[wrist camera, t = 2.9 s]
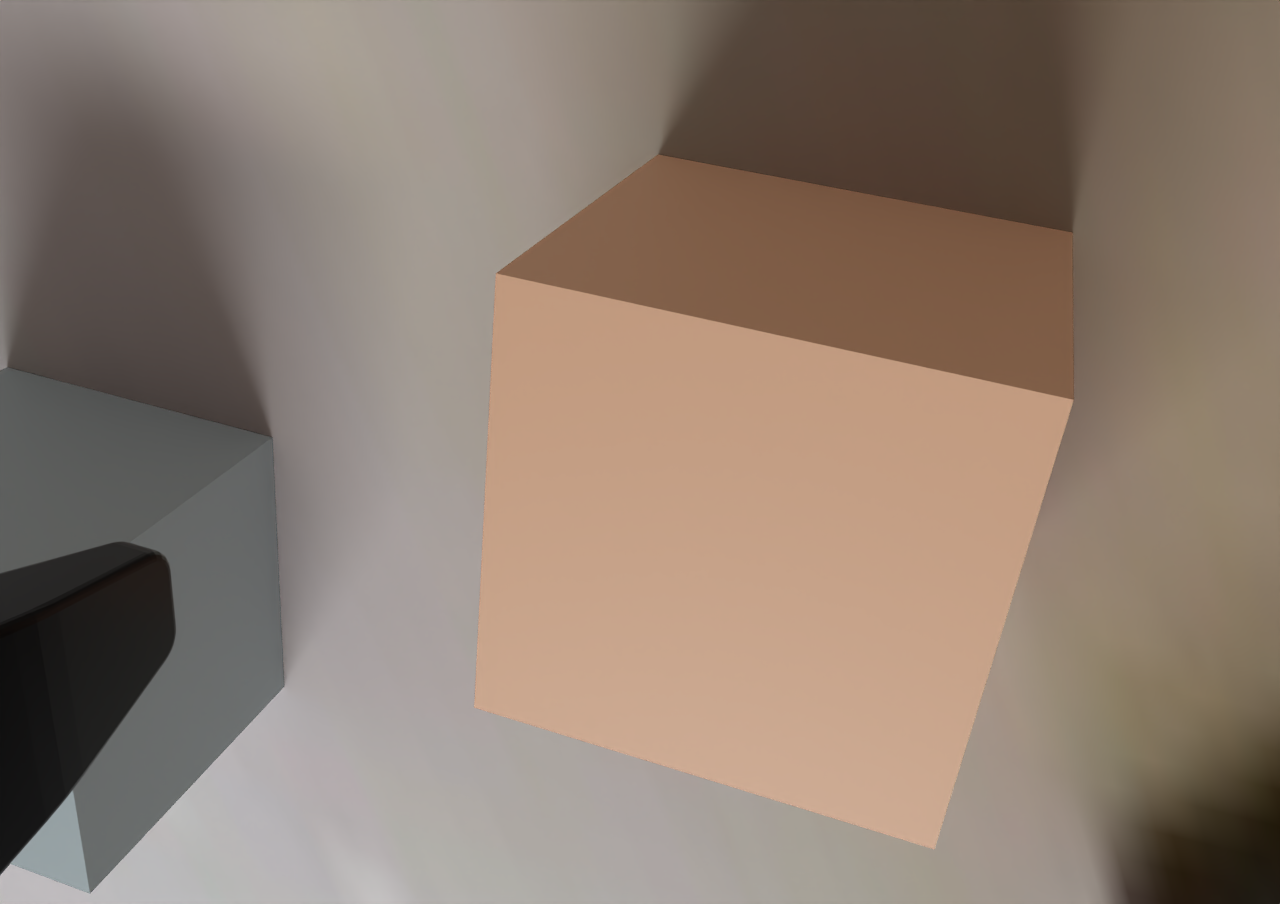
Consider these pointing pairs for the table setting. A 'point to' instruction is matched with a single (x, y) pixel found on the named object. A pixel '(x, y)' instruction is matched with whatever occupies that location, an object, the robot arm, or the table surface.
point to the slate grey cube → (201, 580)
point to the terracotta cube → (769, 481)
